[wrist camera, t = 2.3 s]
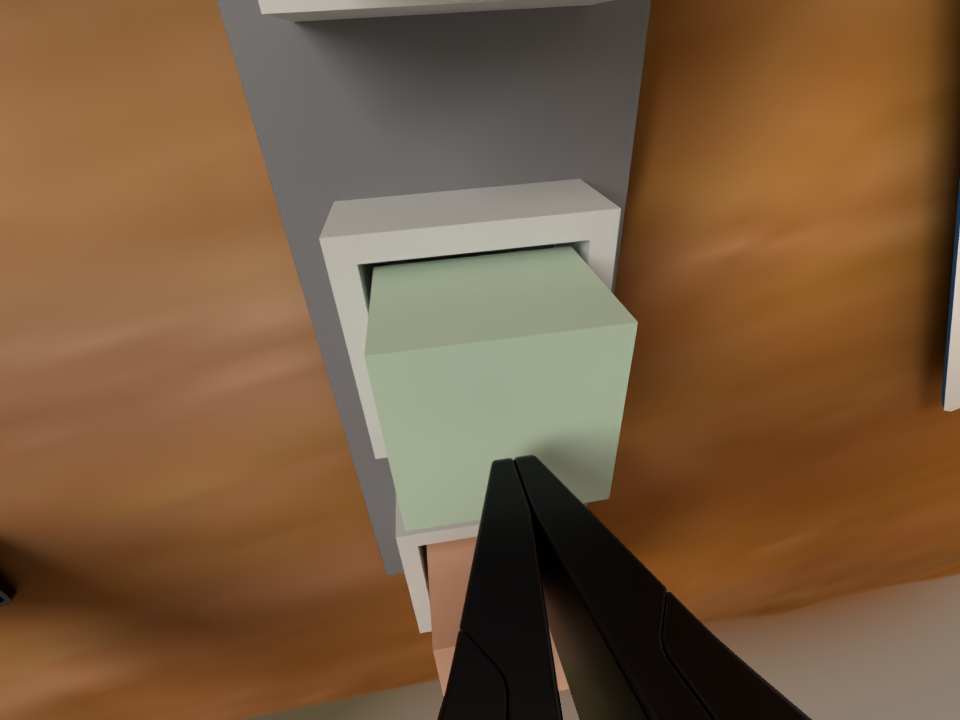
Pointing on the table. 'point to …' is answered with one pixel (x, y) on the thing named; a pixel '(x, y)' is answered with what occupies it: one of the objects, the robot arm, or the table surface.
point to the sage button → (495, 375)
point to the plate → (953, 330)
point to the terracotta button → (456, 602)
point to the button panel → (433, 165)
